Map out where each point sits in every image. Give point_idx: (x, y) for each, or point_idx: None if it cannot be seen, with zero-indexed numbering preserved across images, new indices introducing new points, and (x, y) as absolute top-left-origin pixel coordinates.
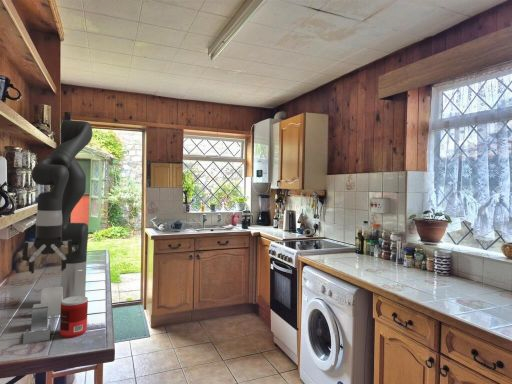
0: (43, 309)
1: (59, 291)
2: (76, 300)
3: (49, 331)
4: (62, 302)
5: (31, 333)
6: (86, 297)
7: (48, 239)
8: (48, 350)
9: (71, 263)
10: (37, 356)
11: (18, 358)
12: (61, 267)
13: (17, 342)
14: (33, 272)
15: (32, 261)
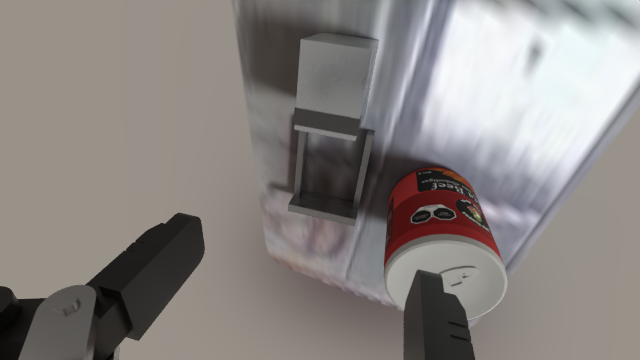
0: (338, 136)
1: None
2: (448, 287)
3: (354, 224)
4: (386, 287)
5: (307, 214)
6: (502, 288)
7: None
8: (348, 261)
9: None
10: (324, 273)
11: (290, 259)
12: (405, 339)
13: (283, 175)
14: (199, 262)
15: (119, 350)
